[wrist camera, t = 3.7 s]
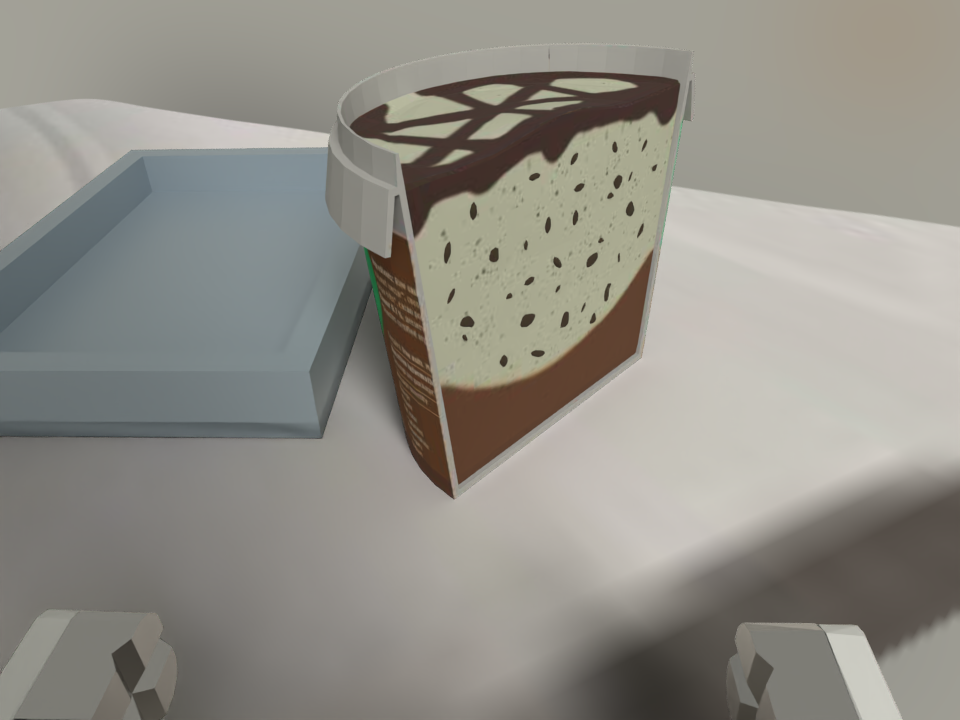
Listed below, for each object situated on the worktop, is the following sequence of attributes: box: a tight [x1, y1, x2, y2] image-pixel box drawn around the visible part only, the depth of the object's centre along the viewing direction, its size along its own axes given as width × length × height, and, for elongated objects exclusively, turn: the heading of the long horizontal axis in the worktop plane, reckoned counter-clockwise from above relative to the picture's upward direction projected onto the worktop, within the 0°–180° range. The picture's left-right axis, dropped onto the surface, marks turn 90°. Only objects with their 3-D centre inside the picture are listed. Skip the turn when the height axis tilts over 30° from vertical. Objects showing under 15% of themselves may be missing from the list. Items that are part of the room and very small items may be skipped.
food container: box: [325, 43, 695, 499], centre depth 22 cm, size 12×6×10 cm, turn 137°
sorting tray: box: [0, 147, 372, 438], centre depth 31 cm, size 14×20×2 cm
